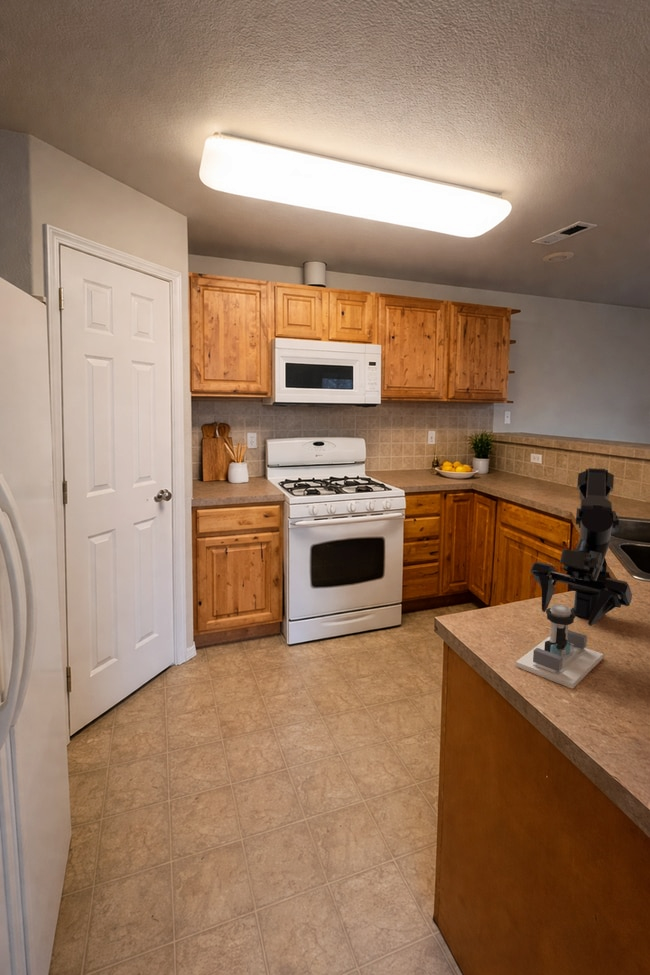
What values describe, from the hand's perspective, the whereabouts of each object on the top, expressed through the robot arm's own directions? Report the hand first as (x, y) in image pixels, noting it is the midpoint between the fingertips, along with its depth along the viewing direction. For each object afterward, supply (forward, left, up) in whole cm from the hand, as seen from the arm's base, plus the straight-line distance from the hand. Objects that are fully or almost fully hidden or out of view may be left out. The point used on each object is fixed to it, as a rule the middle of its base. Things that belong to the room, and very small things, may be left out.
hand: (565, 617), depth 98 cm
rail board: (+2, 0, -9) cm, 9 cm away
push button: (+1, 0, -8) cm, 8 cm away
